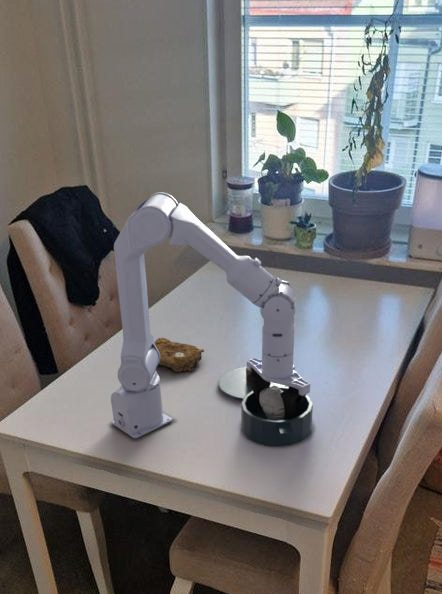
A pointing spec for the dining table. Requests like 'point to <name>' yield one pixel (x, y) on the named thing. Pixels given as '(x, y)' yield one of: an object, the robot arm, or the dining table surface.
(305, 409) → the pan
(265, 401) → the grey lumpy piece
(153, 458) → the dining table surface
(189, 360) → the decorative rock
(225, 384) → the pan lid
